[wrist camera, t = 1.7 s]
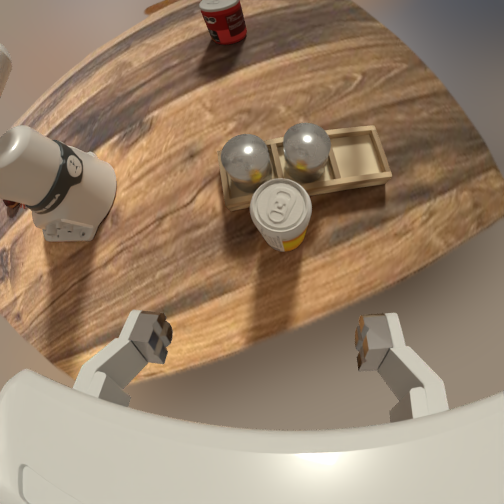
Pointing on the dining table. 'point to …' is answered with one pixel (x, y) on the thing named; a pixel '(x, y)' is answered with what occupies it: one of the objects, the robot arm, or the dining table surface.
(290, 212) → the beer can
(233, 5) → the canned food
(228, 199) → the compartment tray
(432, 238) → the dining table surface
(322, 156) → the seated canisters
